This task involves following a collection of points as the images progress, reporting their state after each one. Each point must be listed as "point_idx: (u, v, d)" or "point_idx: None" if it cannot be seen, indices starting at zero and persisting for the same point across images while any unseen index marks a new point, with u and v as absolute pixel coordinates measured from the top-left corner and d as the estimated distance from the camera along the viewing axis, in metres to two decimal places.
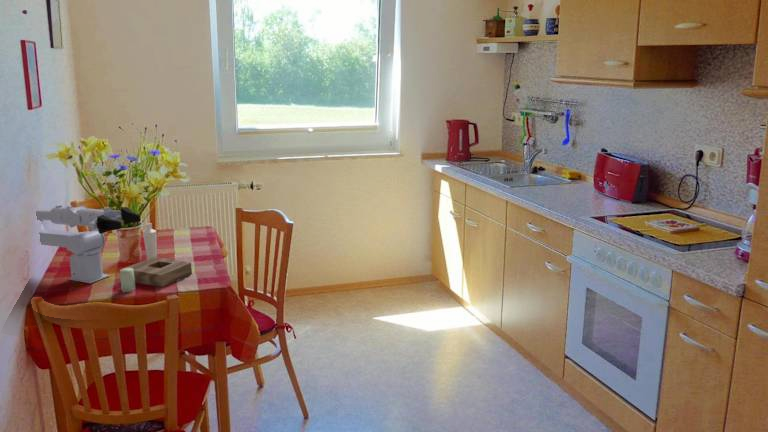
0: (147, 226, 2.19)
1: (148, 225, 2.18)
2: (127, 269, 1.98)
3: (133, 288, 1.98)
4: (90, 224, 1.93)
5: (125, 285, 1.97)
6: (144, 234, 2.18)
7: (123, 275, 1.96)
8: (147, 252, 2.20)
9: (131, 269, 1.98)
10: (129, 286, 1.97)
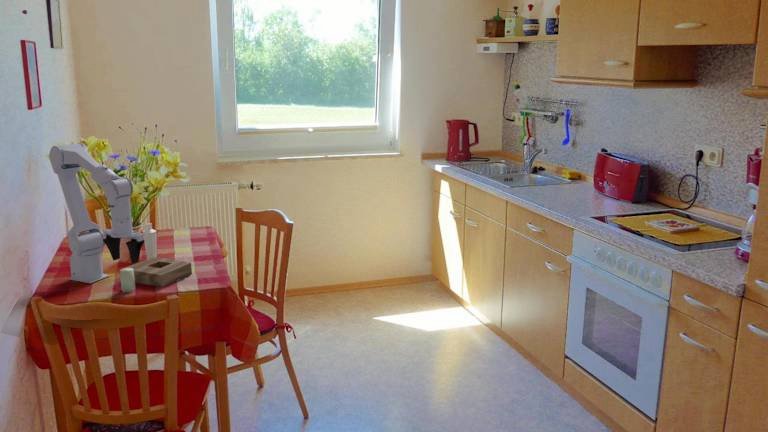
0: (147, 226, 2.19)
1: (148, 225, 2.18)
2: (127, 269, 1.98)
3: (133, 288, 1.98)
4: None
5: (125, 285, 1.97)
6: (144, 234, 2.18)
7: (123, 275, 1.96)
8: (147, 252, 2.20)
9: (131, 269, 1.98)
10: (129, 286, 1.97)
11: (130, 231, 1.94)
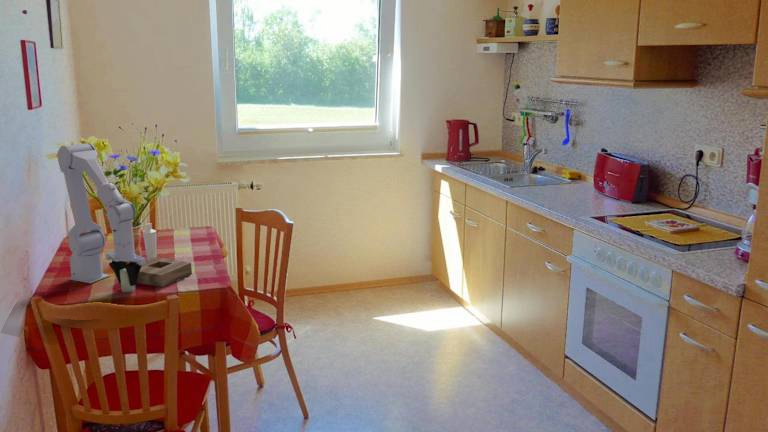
0: (147, 226, 2.19)
1: (148, 225, 2.18)
2: None
3: (133, 288, 1.98)
4: None
5: (125, 285, 1.97)
6: (144, 234, 2.18)
7: (123, 275, 1.96)
8: (147, 252, 2.20)
9: None
10: (129, 286, 1.97)
11: (132, 255, 1.96)
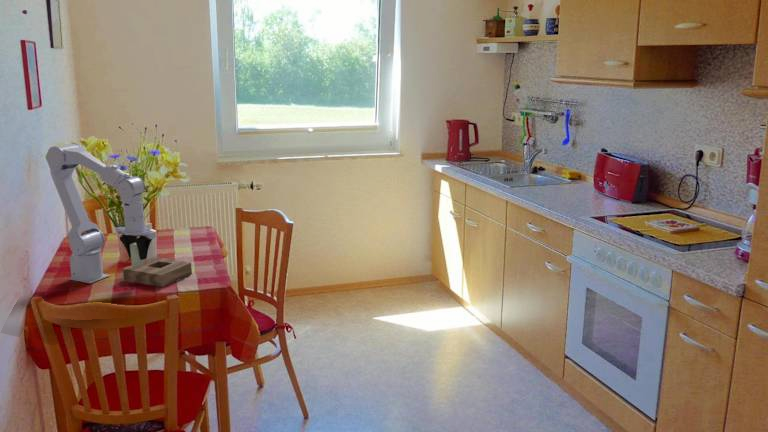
0: (147, 226, 2.19)
1: (148, 225, 2.18)
2: None
3: (143, 262, 2.01)
4: None
5: (135, 259, 1.99)
6: None
7: (133, 249, 1.99)
8: None
9: None
10: (139, 260, 2.00)
11: (142, 229, 1.98)
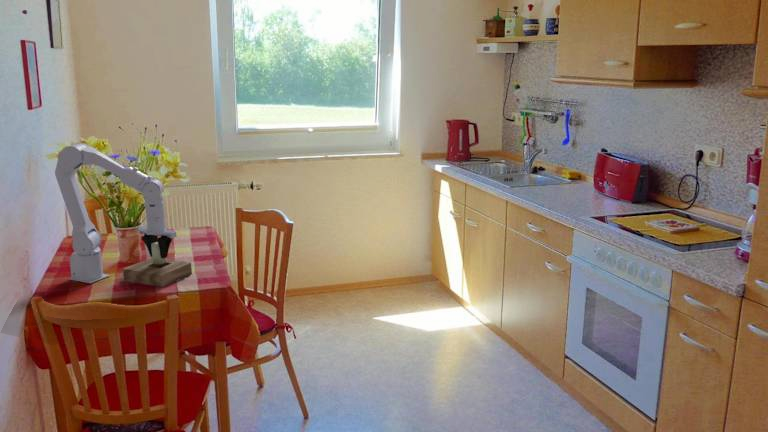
0: None
1: None
2: None
3: (164, 261, 2.10)
4: None
5: (157, 258, 2.08)
6: None
7: (154, 248, 2.07)
8: (147, 252, 2.20)
9: None
10: (160, 258, 2.08)
11: (163, 229, 2.07)
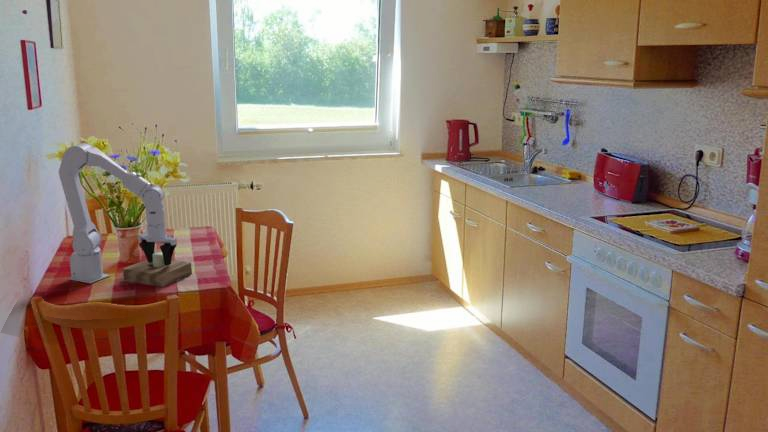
0: None
1: None
2: (160, 254, 2.10)
3: None
4: None
5: None
6: None
7: (156, 259, 2.08)
8: None
9: None
10: None
11: (164, 236, 2.07)
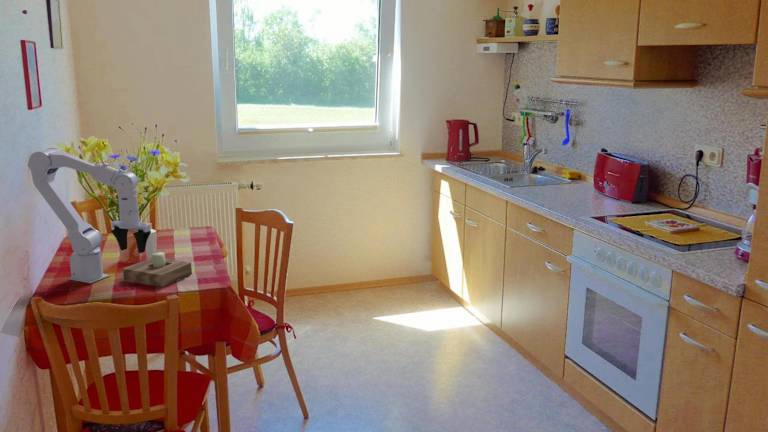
0: None
1: None
2: (159, 254, 2.10)
3: None
4: None
5: None
6: None
7: (155, 259, 2.08)
8: (147, 252, 2.20)
9: (162, 253, 2.10)
10: None
11: (137, 222, 2.04)
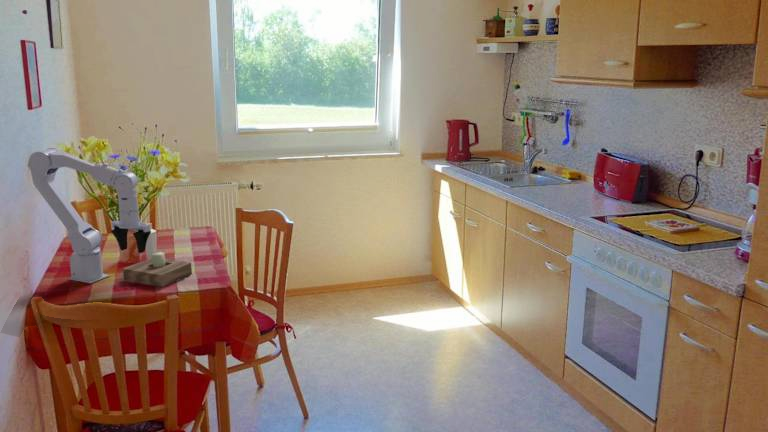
0: None
1: None
2: (159, 254, 2.10)
3: None
4: None
5: None
6: None
7: (155, 259, 2.08)
8: (147, 252, 2.20)
9: (162, 253, 2.10)
10: None
11: (137, 222, 2.04)
